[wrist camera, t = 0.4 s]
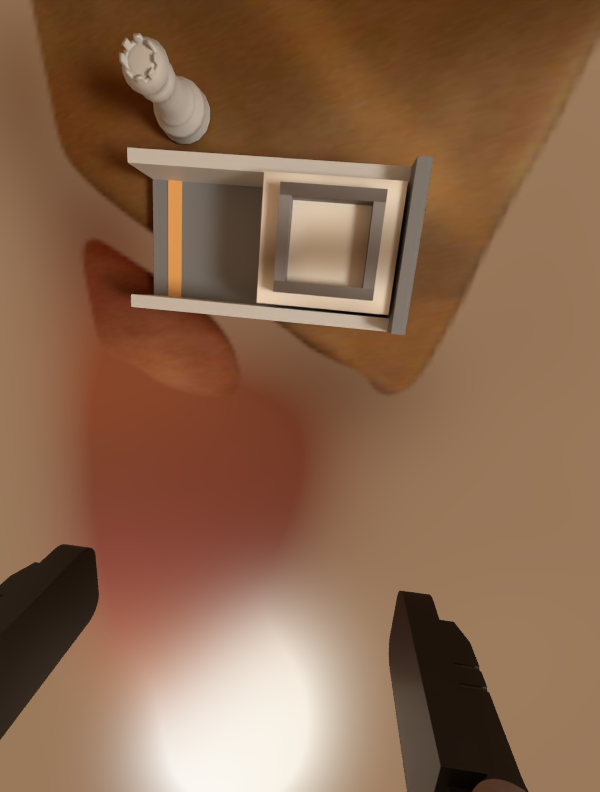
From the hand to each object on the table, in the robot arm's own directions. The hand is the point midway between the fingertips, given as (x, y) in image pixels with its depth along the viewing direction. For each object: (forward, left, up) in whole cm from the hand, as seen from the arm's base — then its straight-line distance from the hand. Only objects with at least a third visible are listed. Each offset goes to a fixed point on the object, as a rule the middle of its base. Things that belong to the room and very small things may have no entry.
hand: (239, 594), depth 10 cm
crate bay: (-11, -4, -27) cm, 30 cm away
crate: (-11, +1, -26) cm, 28 cm away
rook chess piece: (-21, -13, -28) cm, 37 cm away
